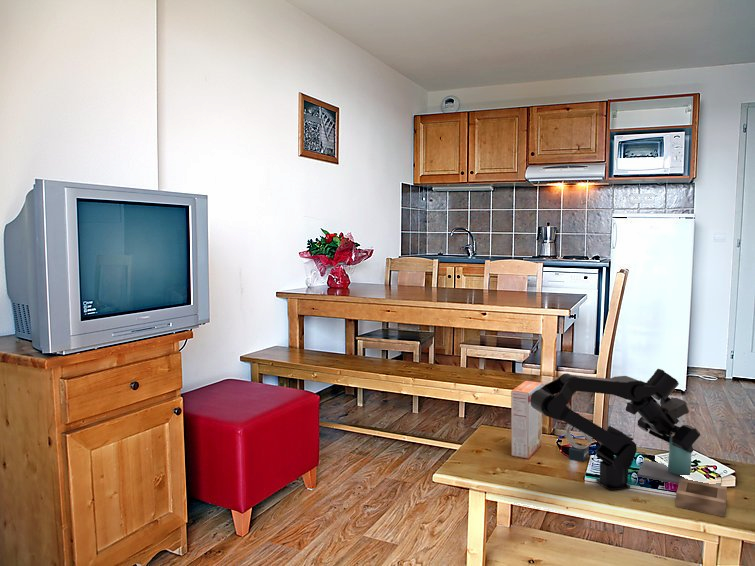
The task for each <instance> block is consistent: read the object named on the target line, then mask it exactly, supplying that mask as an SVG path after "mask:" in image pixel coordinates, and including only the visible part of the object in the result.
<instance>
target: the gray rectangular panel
mask: <svg viewBox="0 0 755 566" xmlns="http://www.w3.org/2000/svg"><path fill="white" fill-rule="evenodd" d="M664 464H665V463H662V462H658V461H657V462H655V461H652V460H651V461H650V460H645V459H643V462H642V464H641V466H640V468H639V470H638V472H637V478H638V477H642V478H641V479H643V478H648V479H653V480H659V481H663V482H670V483H675V484H679V482H680V479H681V478H682V479H685V478H684V477H682V476H680V475H678V474H674V473H671V472H670V471H669V470H668V467H667V466H666V465H664ZM648 479H647V480H648ZM653 480H652V481H653ZM663 482H662V483H663ZM720 484H721V485H722V483H716V484H714V485H719V486H720Z"/></svg>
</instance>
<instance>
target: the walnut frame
mask: <svg viewBox="0 0 755 566" xmlns="http://www.w3.org/2000/svg"><path fill="white" fill-rule="evenodd" d="M727 488H728V487H727V486H723V485H721V486H719V485H714V484H709V483H703V482H698V481H693V480H688V479H682V478H681V479H680V482H679V485H677V490H676V493H675V507H676V508H681V509H687V510H691V511H695V512H700V513H704V514H709V515H714V516H717V517H718V516H719V517H723V518H725V517H726V508H727V507H726V506H727V494H728V493H727V492H728V491H727V490H728V489H727Z"/></svg>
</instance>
